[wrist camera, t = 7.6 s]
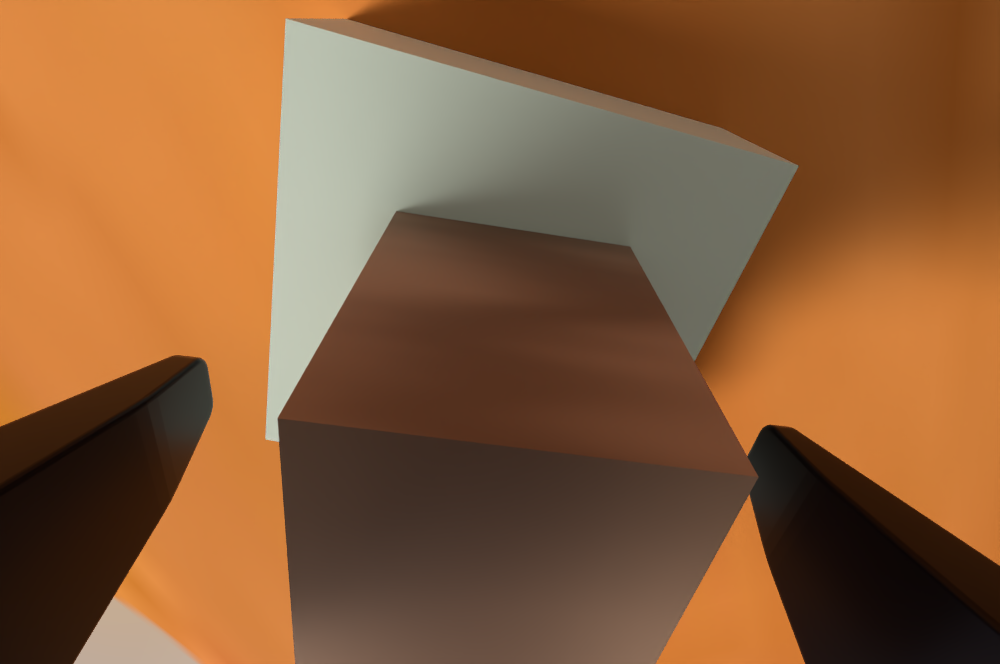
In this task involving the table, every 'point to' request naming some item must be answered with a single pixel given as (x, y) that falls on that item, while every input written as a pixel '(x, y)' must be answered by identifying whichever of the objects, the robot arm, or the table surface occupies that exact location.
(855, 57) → the table surface
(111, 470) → the robot arm
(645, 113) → the sage base block
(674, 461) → the walnut block
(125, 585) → the table surface
